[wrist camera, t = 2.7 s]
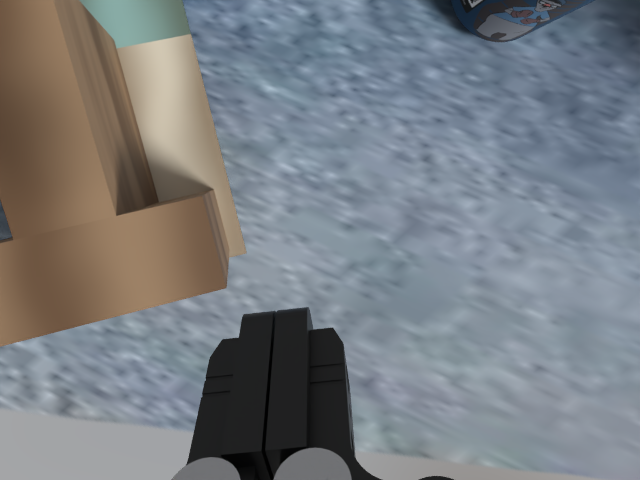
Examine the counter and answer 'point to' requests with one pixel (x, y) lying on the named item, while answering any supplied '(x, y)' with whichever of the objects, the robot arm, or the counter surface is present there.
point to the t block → (85, 185)
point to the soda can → (510, 16)
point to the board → (169, 102)
